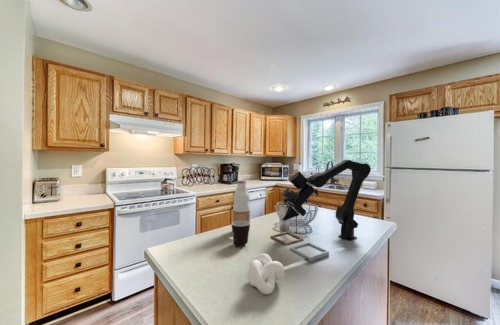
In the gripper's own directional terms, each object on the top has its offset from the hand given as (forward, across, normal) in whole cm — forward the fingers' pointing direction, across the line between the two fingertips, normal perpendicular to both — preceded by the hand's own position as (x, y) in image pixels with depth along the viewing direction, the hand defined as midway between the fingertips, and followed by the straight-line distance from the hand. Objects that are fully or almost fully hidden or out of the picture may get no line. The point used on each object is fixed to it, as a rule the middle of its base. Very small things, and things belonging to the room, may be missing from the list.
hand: (281, 218), depth 105 cm
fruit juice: (+21, -17, -4) cm, 27 cm away
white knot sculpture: (+19, +34, -3) cm, 39 cm away
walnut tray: (+6, 0, +10) cm, 12 cm away
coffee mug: (+22, -1, -6) cm, 23 cm away
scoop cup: (+3, 0, +5) cm, 6 cm away
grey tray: (+3, +15, +13) cm, 20 cm away
